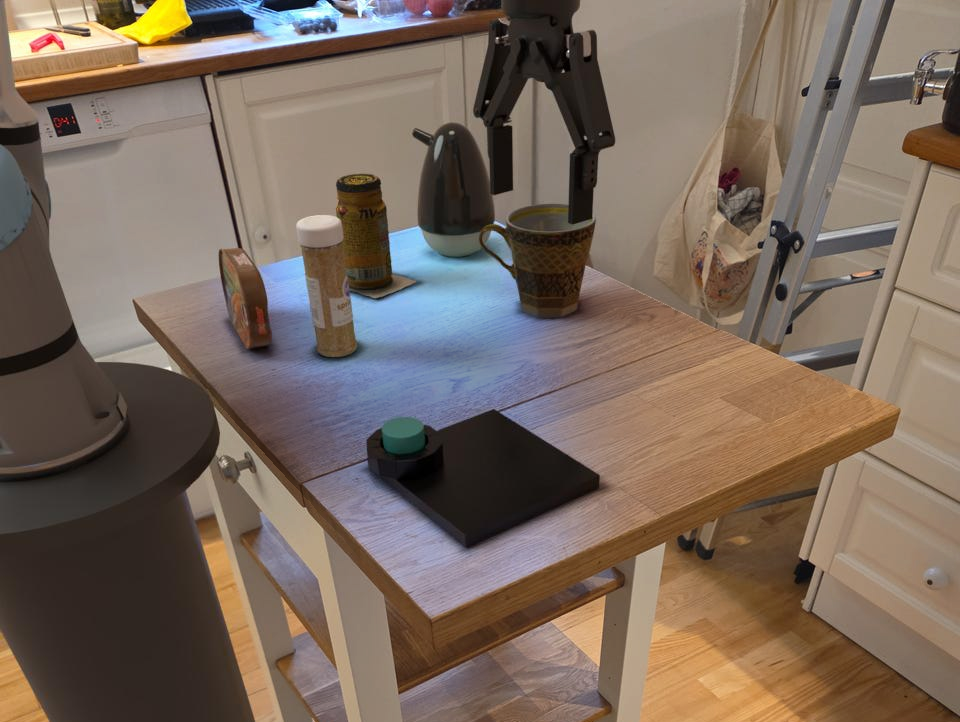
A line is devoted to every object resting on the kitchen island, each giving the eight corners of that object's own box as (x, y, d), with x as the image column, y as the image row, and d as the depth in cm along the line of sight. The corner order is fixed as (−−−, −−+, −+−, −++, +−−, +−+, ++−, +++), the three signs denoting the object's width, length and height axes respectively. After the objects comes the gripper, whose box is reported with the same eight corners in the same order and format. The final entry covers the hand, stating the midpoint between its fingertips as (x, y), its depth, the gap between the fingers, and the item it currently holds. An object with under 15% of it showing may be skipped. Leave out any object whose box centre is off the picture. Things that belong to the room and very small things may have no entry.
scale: (356, 468, 78) (352, 438, 76) (489, 417, 84) (488, 388, 82) (458, 551, 69) (456, 519, 67) (599, 487, 75) (601, 456, 73)
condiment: (371, 268, 115) (359, 167, 106) (417, 283, 110) (409, 178, 102) (329, 285, 111) (314, 181, 103) (375, 301, 106) (363, 194, 98)
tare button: (376, 443, 76) (373, 425, 75) (410, 430, 78) (409, 412, 77) (398, 460, 74) (396, 441, 73) (433, 446, 76) (432, 428, 74)
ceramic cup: (588, 290, 107) (592, 201, 100) (594, 323, 100) (599, 231, 93) (481, 292, 107) (479, 204, 101) (480, 326, 100) (477, 234, 93)
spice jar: (358, 356, 95) (341, 226, 86) (316, 360, 95) (294, 229, 86) (357, 339, 98) (340, 211, 89) (316, 342, 98) (295, 214, 89)
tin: (226, 312, 105) (209, 239, 99) (251, 307, 106) (236, 234, 100) (253, 362, 95) (236, 283, 89) (281, 356, 96) (266, 278, 90)
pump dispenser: (433, 235, 123) (425, 111, 113) (504, 240, 121) (503, 114, 111) (407, 260, 116) (396, 131, 106) (482, 266, 114) (478, 134, 103)
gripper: (666, -34, 76) (644, 225, 90) (493, -50, 91) (498, 174, 105) (600, -24, 72) (589, 243, 87) (433, -42, 88) (446, 188, 102)
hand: (539, 206), depth 96 cm, fingers open, 13 cm apart
